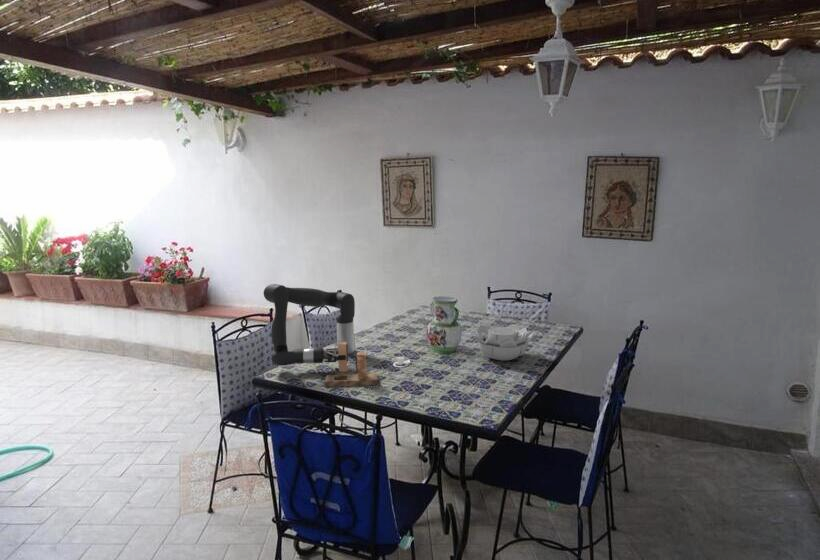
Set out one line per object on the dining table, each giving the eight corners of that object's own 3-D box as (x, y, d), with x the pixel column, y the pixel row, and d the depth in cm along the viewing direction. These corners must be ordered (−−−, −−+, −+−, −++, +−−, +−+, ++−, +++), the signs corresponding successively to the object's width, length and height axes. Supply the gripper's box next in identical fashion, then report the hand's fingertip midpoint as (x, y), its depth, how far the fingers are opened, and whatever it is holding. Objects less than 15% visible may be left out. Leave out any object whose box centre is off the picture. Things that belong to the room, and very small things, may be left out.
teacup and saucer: (411, 363, 269) (411, 355, 268) (407, 368, 261) (407, 360, 261) (395, 361, 271) (395, 354, 271) (391, 367, 264) (390, 359, 263)
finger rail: (325, 386, 238) (323, 357, 236) (326, 380, 246) (325, 352, 244) (377, 384, 240) (376, 355, 237) (377, 378, 247) (376, 350, 245)
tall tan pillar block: (339, 371, 257) (337, 344, 255) (339, 368, 261) (338, 342, 259) (348, 371, 257) (347, 344, 255) (348, 368, 261) (347, 341, 259)
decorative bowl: (540, 354, 278) (541, 327, 275) (519, 371, 254) (520, 341, 251) (488, 345, 295) (489, 319, 292) (464, 360, 270) (464, 332, 268)
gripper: (311, 353, 249) (345, 352, 250) (314, 344, 263) (347, 343, 264) (312, 368, 251) (345, 366, 252) (315, 358, 265) (347, 357, 266)
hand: (346, 354), depth 258 cm, fingers open, 8 cm apart
